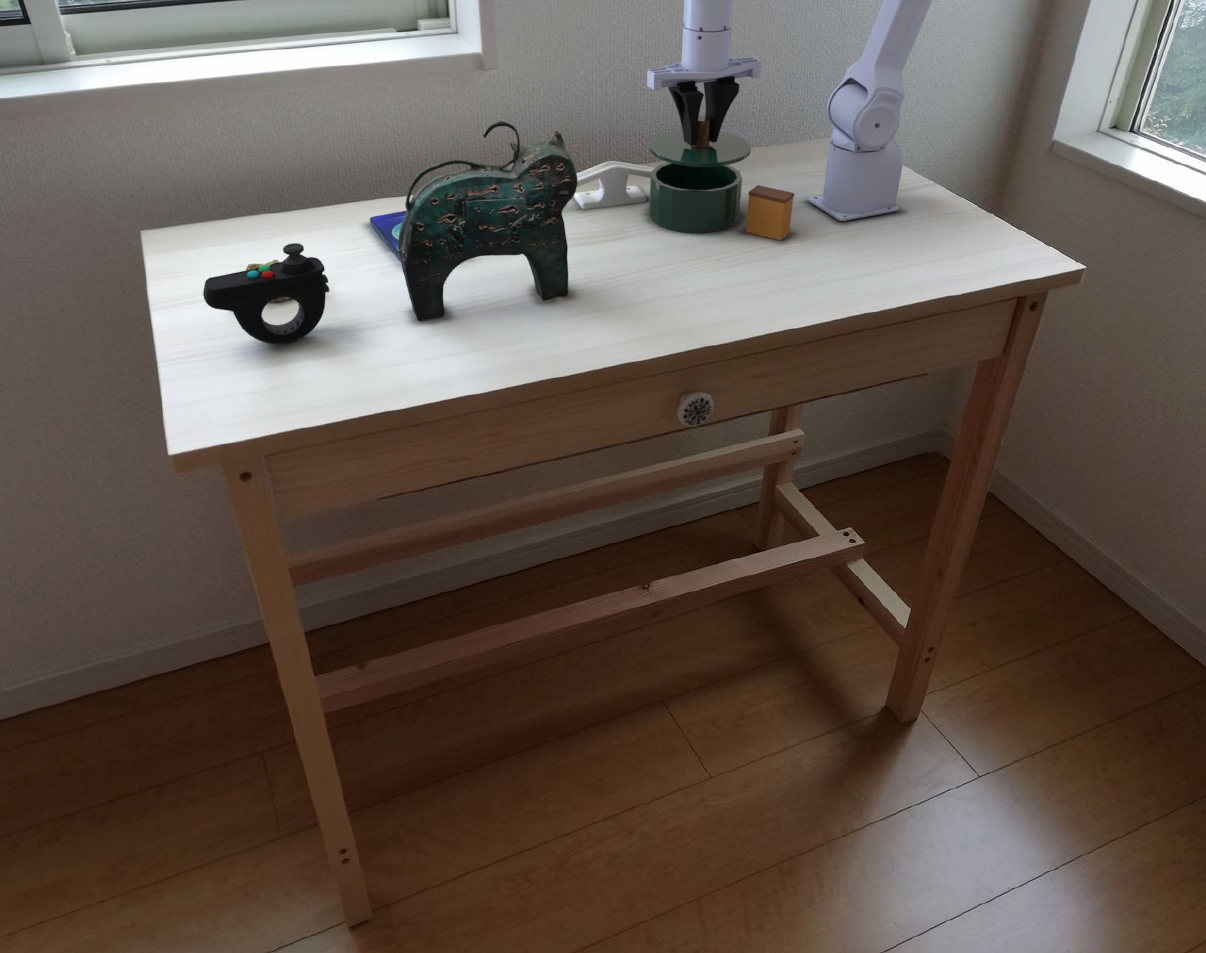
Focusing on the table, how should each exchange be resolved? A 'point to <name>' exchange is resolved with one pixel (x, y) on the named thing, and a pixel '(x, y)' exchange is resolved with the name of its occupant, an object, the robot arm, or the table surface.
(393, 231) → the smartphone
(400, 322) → the table surface
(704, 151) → the lid
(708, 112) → the robot arm
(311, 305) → the controller
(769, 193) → the brown block
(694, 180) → the pot
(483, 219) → the ceramic cat
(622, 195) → the mooring cleat
